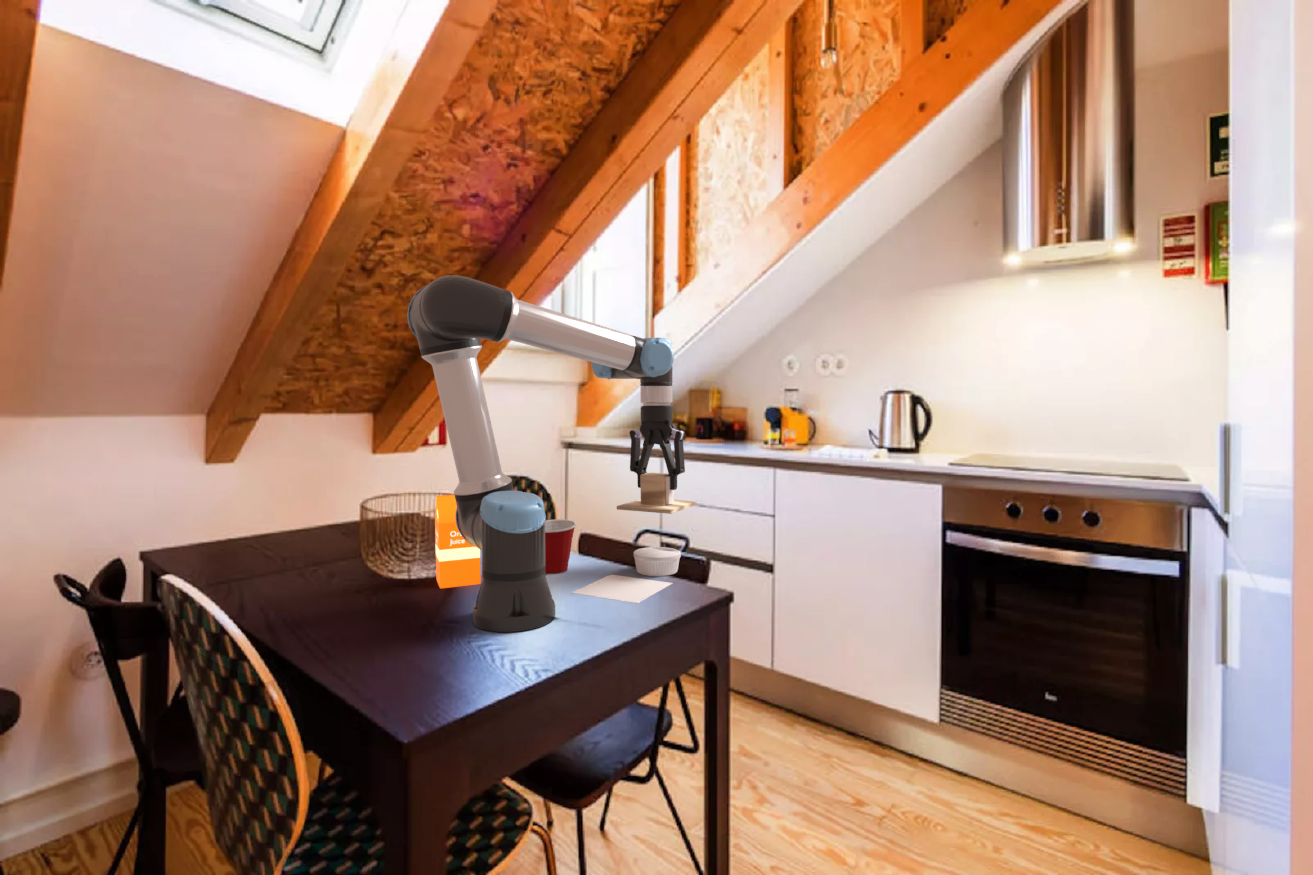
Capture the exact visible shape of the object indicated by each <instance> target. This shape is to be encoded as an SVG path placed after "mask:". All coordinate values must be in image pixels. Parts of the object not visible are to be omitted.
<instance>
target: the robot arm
mask: <svg viewBox="0 0 1313 875" xmlns="http://www.w3.org/2000/svg"><path fill="white" fill-rule="evenodd" d="M406 317H407V324H408V326H409V328H410V331H411V332H412V334H413V335H414V337H415V338H416V340H417V343H418V346H419V351H420V352H419V353H420V356H421V358H422V359H423V361H426V362H427V363H429V364H430V365H431V367H432V370H433V374H434V375H433V376H434V379H435V380H434V381H435V383H436V388H437V392H438V397H439V401H440V404H441V409H442V413H443V417H444V421H445V422H444V423H445V426H446V430H447V435H448V438H449V439H448V440H449V443H450V448H451V451H452V452H451V453H452V455H453V456H452V457H453V460H454V464H455V468H456V469H455V470H456V473H457V477H458V481H459V482H458V484H457V486H456V488H454V490H453V495H455V500H456V504H457V509H456V514H455V520H456V525H457V528H458V530H459V532H460V534H461V535H462V537H463V538H464V539H465V540H466V541H467V542H469V543H470V544H471V545H474V546H475V547H477V548H479V549H480V551H481V584H480V586H479V590H478V593H477V598H476V602H475V604H474V606H473V610H472V619H473V620H472V622H473V624H474V626H476V627H477V628H479V629H481V630H484V631H489V632H500V633H501V632H502V633H509V632H513V633H514V632H523V631H529V630H533V629H536V628H539V627H540V628H541V627H544V626H545V625H548V624H550V623H551V622H552V621H554V620H555V618H556V603H555V601H554V598H553V596H552V592H551V588H550V585H549V583H548V579H547V576H546V574H545V521H546V520H547V519H546V518H547V516H546V511H545V503H544V500H543V499H542V498H541V496H539V495H537V494H535V493H532V492H527V491H526V492H523V491H522V490H515V489H514V485H513V480H512V478H511V477H510V476H508V475H507V474H505V473H503V470H502V466H501V462H500V461H501V460H500V457H499V452H498V449H497V444H496V439H495V435H494V429H493V426H492V421H491V417H490V413H489V407H488V403H487V398H486V394H485V390H484V386H483V382H482V376H481V372H480V367H479V362H478V359H477V357H478V355H479V354H480V351H481V349H483V345H482V340H487V341H492V342H495V343H500V342H503V341H504V340H507V341H513V342H516V343H519V344H525V345H528V346H531V347H535V348H539V349H542V350H545V351H549V352H553V353H556V354H561V355H565V356H568V357H572V358H575V359H579V360H583V361H586V362H590V363H591V369H592V372H593V375H594V376H595V377H597V378H598V379H607V380H611V379H612V380H615V379H616V380H618V379H619V380H625V379H626V380H627V379H628V380H629V379H630V380H632V379H634V380H640V382H639V384H640V403H641V404H642V405H641V406H640V421H641V422H640V427H639V428H638V429H632V430H629V437H630V462H629V471H630V472H634V473H636V475H637V487H638V488H639V489H641V475H642V474H646V473H648V471H647V468H648V465H649V462H650V461H649V460H650V458H651V454H652V450H653V448H654V446H655V445H657V446H658V445H659V448H660V449H661V452H662V455H663V458H664V462H665V465H666V469H667V473H669V475H668V476H666V504H668V505H669V504H672V503H674V500H675V491H676V490H677V488H678V475H681V474H683V473H685V472H686V466H685V453H684V452H685V450H684V438H685V435H686V432H685V430H679V429H675V428H674V427H675V426H674V425H673V421H674V419H673V418H674V416H673V415H674V413H673V412H674V408H673V406H672V405H671V404H672V403H673V400H674V398H673V364H674V360H675V358H674V351H673V344H672V341H671V340H670V339H669V338H666V337H645V338H642V337H640V336H636V335H632V334H629V333H626V332H623V331H620V330H617V329H613V328H610V327H607V326H604V325H600V324H597V323H594V322H591V321H588V320H584V319H581V318H577V317H575V316H571V315H568V314H566V313H562V312H559V311H555V310H552V309H549V308H546V307H543V306H539V305H536V304H533V303H530V302H527V301H524V300H521V299H517V298H516V297H515V295H514V293H513V291H510V290H508V289H504V288H501V287H499V286H496V285H492V284H489V283H487V282H484V281H480V280H478V279H475V278H471V277H468V276H463V275H455V274H454V275H452V274H451V275H450V274H448V275H443V276H440V277H437V278H436V279H434V280H433V281H431V282H430V283H429V284H427V285H425V286H423V287H422V288H420V289H418V291H416V292H415V294H414V295H413V296H412V298H411V299H410V302H409V305H408V309H407V316H406ZM641 437H643V438H644V440H643V443H642V449H641ZM671 437H672V439H673V447H674V448H673V450H674V454H673V451H672V448H671V447H672V444H671V441H670V439H671ZM641 450H642V451H641Z"/></svg>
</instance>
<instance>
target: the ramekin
mask: <svg viewBox="0 0 1313 875" xmlns="http://www.w3.org/2000/svg"><path fill="white" fill-rule="evenodd" d="M633 557H634V563H635V564H634V565H635V569H636V573H638V574H640V575H643V576H650V577H662V576H663V577H665V576H671V575H674V574H676V573H678V570H679V563H680V558H681V557H682V553H681V551H680V550H679V549H676V548H672V547H664V546H648V547H642V548H641V547H640V548H638V549H635V550H634V551H633Z"/></svg>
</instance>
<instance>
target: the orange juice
mask: <svg viewBox="0 0 1313 875" xmlns="http://www.w3.org/2000/svg"><path fill="white" fill-rule="evenodd" d="M435 497H436V501H435V517H434V525H435V526H434V527H435V534H434V535H435V544H434V545H435V546H434V548H435V567H436V568H435V569H436V570H435V574H436V582H437V585H438V587H439V589H449V588H457V587H465V586H467V587H468V586H472V585H481V583H482V579H481V550H480V549H479V548H477V547H475V546H474V545H471V544H470V543H469V542H467V541H466V540H465V539H464V538H463V537H462V535H461V534H460V532H459V530H458V528H457V525H456V520H455V514H456V509H457V504H456V500H455V495H454V494H445V495H443V494H441V495H436V496H435Z"/></svg>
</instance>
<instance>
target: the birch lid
mask: <svg viewBox="0 0 1313 875" xmlns="http://www.w3.org/2000/svg"><path fill="white" fill-rule="evenodd" d="M668 475H669V473H668V472H665V473H664V472H647V473H645V474H642V475H641V488H640V499H637V500H634V501H630V502H627V503H622V504H619V505H616V510H617V511H618V510H619V511H629V512H630V511H632V512H643V513H657V514H671V515H672V514H674V513H677V512H680V511H683V510H685V509H688V508H690V507H691V508H692V507H693V506H696V505H697V501H696V500H684V499H683V500H682V499H681V500H680V499H674V503H672V504H669V505H668V504H666V476H668Z"/></svg>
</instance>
